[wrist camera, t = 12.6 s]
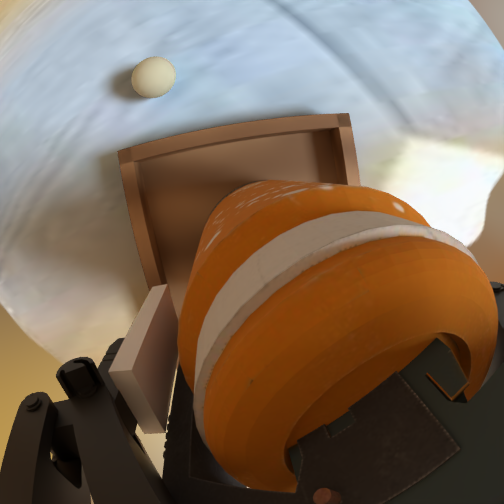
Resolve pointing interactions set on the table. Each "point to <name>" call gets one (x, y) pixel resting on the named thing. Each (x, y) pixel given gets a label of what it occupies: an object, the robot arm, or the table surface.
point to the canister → (334, 357)
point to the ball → (153, 77)
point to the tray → (221, 181)
